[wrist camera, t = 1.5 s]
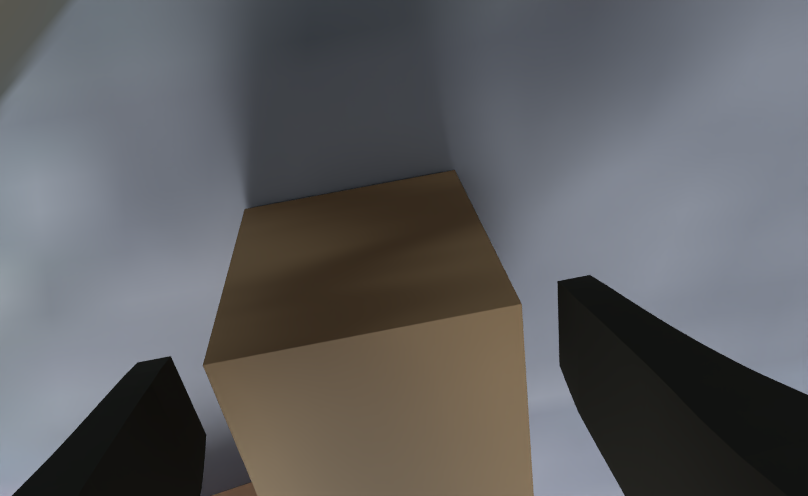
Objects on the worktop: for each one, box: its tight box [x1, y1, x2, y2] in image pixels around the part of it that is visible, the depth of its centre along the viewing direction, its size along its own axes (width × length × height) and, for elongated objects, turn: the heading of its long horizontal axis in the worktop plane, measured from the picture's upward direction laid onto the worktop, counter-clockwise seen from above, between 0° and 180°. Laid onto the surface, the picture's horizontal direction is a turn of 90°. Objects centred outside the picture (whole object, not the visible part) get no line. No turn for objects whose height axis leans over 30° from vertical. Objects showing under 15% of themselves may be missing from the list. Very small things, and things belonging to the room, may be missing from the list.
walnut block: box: [203, 170, 534, 496], centre depth 12 cm, size 4×4×5 cm
